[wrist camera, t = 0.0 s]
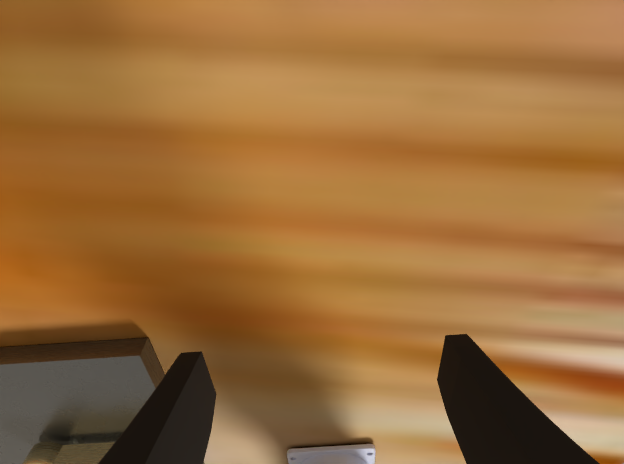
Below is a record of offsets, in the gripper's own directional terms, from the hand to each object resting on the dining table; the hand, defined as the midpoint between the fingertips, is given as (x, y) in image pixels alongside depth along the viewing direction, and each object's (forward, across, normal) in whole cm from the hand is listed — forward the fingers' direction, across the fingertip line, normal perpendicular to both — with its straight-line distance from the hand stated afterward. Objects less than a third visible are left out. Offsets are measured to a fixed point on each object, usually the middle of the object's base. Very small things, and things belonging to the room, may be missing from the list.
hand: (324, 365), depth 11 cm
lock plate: (+10, +22, +19) cm, 31 cm away
